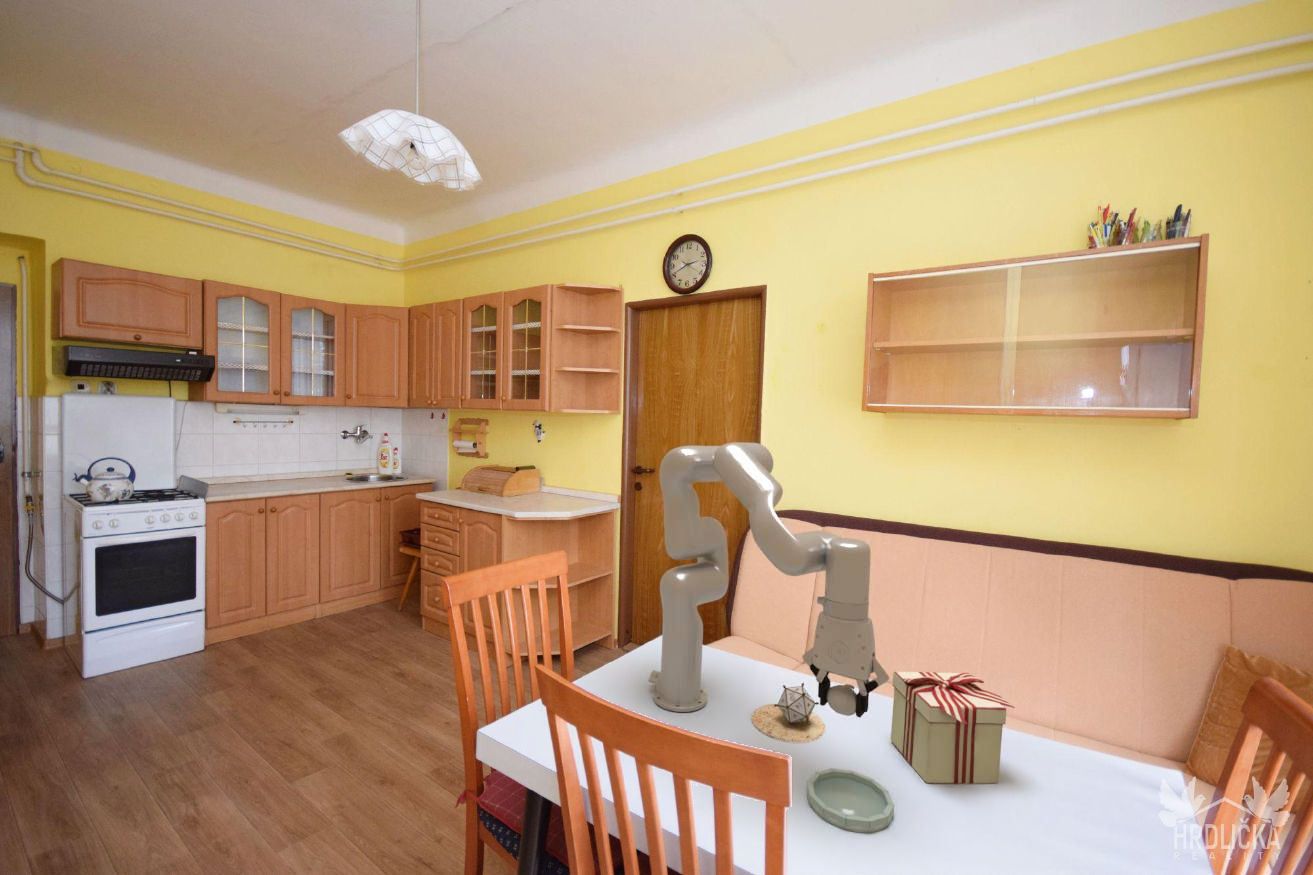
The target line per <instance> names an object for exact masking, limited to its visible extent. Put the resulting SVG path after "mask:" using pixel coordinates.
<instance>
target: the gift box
mask: <svg viewBox="0 0 1313 875" xmlns="http://www.w3.org/2000/svg"><path fill="white" fill-rule="evenodd" d="M892 674H893V675H892V686H893V688H894V690H893V701H892V702H893V703H892V705H893V706H892V715H891V716H892V718H891V730H890V741H891V742H892V744H893V745H894V746H895V747H896V749H898V751H899V752H900V753H901V755H902V756H903V757H904V758H905V760H906V761H907V762H908V763H909V764H910V766H911V768H913V769H914V771H916V773H917V774H918V776H920V778H921V779H922V780H923V781H924V783H926V784H949V785H950V784H952V785H953V784H954V785H959V784H963V785H964V784H966V785H967V784H968V785H969V784H971V785H973V784H976V785H977V784H978V785H979V784H980V785H992V784H993V785H994V784H996V785H997V784H999V778H1000V766H1001V765H1000V764H1001V755H1002V754H1001V752H1002V751H1001V750H1002V740H1003V725H1006V723H1007V722H1006V721H1007V708H1006V707H1010V708H1013V709H1016V707H1015V706H1013V705H1012V704H1011V703H1009V702H1008V701H1006V700H1005V699H1004V698H1003V697H1002V696H1001V695H998V694H996V693H993V692H991V691H987V690H985V689H982V688H981V687H979V686H978V685H976V683H980V684H984V683H985V681H984V680H982V679H980V678H978V677H977V676H975V675H973V674H971V673H969V672H962V673H961V672H943V671H942V672H939V671H938V672H937V671H936V672H935V671H934V672H933V671H932V672H931V671H894V672H893V673H892ZM1005 706H1006V707H1005Z"/></svg>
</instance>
